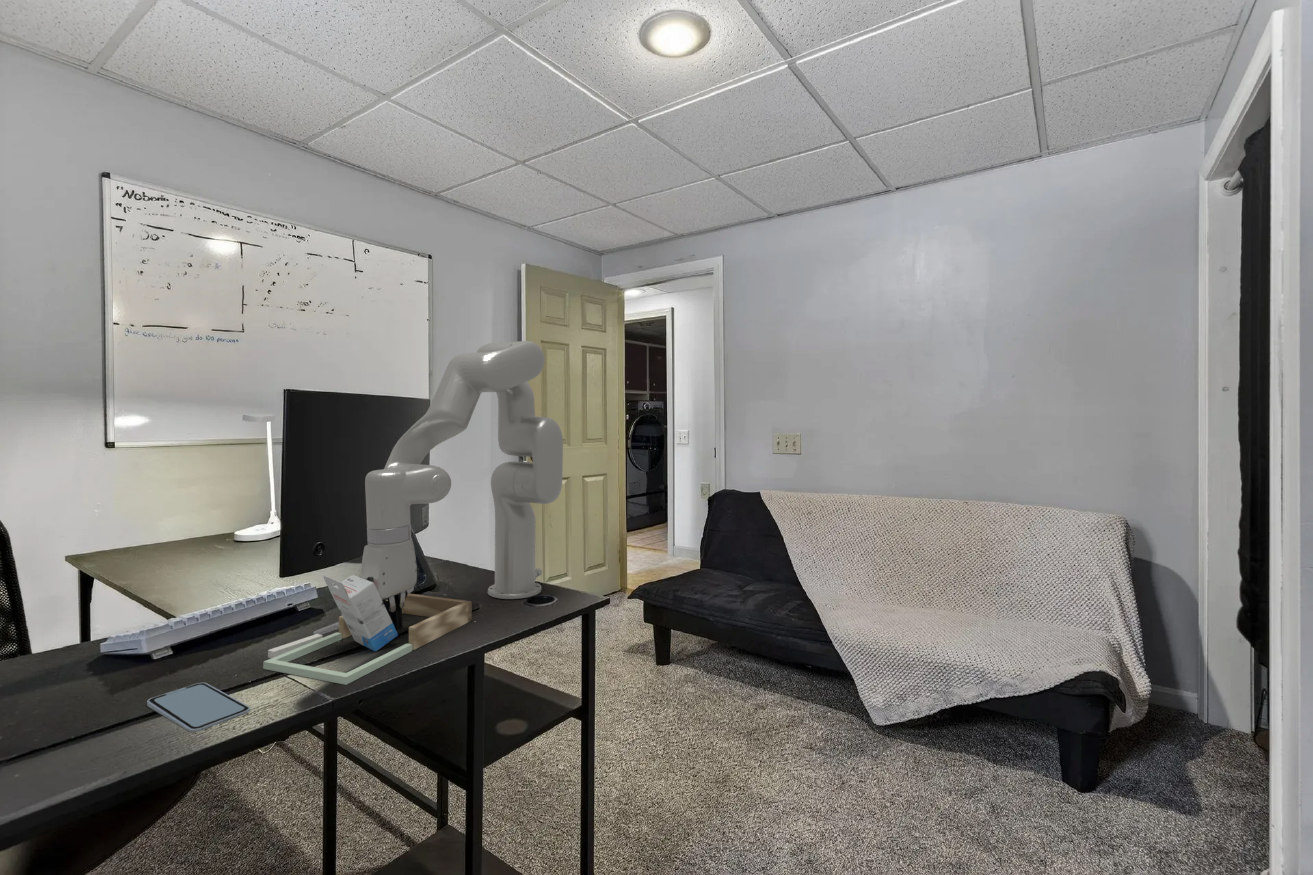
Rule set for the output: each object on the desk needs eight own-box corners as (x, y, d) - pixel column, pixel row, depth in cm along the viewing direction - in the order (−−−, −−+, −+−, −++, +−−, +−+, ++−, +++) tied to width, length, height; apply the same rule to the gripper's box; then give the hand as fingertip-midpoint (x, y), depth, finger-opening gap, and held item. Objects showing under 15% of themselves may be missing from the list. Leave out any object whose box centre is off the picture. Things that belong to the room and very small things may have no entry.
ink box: (399, 635, 110) (368, 567, 105) (375, 653, 106) (341, 583, 101) (378, 624, 115) (347, 559, 110) (353, 641, 112) (320, 574, 107)
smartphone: (192, 731, 78) (144, 700, 86) (192, 738, 78) (144, 706, 86) (253, 708, 85) (203, 681, 92) (253, 714, 85) (203, 687, 92)
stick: (317, 642, 112) (317, 633, 112) (322, 643, 111) (322, 635, 111) (268, 659, 103) (268, 650, 103) (273, 660, 103) (273, 651, 103)
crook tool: (363, 617, 125) (362, 612, 125) (381, 620, 123) (381, 615, 123) (313, 636, 114) (313, 631, 114) (333, 640, 112) (333, 634, 112)
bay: (336, 638, 113) (336, 632, 113) (412, 650, 107) (412, 644, 107) (263, 668, 99) (263, 661, 99) (346, 684, 93) (346, 677, 93)
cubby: (403, 611, 129) (403, 592, 129) (471, 620, 124) (471, 601, 124) (338, 637, 113) (338, 616, 113) (414, 649, 108) (414, 627, 107)
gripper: (401, 525, 121) (405, 613, 122) (341, 542, 107) (346, 642, 108) (432, 527, 119) (435, 617, 120) (375, 545, 104) (379, 647, 106)
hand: (393, 629), depth 114 cm, fingers closed
